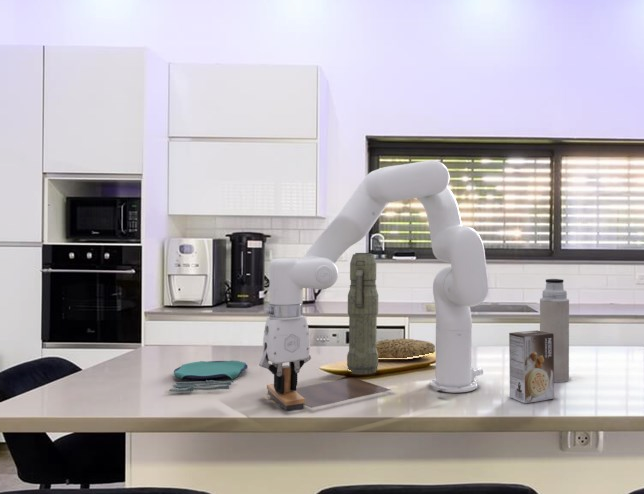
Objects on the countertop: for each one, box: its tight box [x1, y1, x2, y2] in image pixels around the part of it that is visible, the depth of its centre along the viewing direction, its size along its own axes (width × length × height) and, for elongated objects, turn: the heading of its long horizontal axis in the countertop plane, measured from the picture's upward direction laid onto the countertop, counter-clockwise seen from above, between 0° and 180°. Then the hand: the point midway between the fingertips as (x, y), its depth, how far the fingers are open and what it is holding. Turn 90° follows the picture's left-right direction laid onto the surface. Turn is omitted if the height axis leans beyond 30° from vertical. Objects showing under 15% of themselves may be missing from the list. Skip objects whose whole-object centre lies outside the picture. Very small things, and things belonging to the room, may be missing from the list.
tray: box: [296, 376, 391, 409], centre depth 139 cm, size 23×17×1 cm
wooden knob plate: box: [266, 364, 305, 412], centre depth 129 cm, size 4×14×8 cm, turn 32°
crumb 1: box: [262, 394, 274, 401], centre depth 133 cm, size 4×4×1 cm
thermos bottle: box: [539, 278, 570, 383], centre depth 156 cm, size 8×8×28 cm
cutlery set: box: [168, 359, 248, 393], centre depth 154 cm, size 20×30×2 cm, turn 9°
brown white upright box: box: [508, 330, 555, 404], centre depth 136 cm, size 9×6×16 cm
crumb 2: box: [270, 399, 279, 406], centre depth 129 cm, size 4×4×1 cm
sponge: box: [376, 337, 436, 361], centre depth 181 cm, size 13×8×20 cm
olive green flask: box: [346, 252, 379, 375], centre depth 160 cm, size 9×12×35 cm
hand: (285, 390), depth 129 cm, fingers closed on wooden knob plate, 2 cm apart
